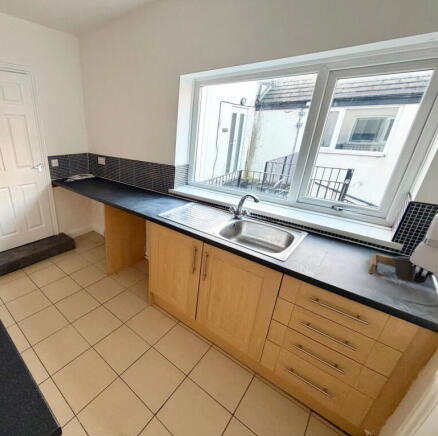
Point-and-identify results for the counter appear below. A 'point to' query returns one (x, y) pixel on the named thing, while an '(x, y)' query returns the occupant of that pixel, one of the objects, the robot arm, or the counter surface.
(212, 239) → the counter surface
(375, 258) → the corner guard
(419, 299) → the counter surface
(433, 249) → the robot arm
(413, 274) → the coffee cup
